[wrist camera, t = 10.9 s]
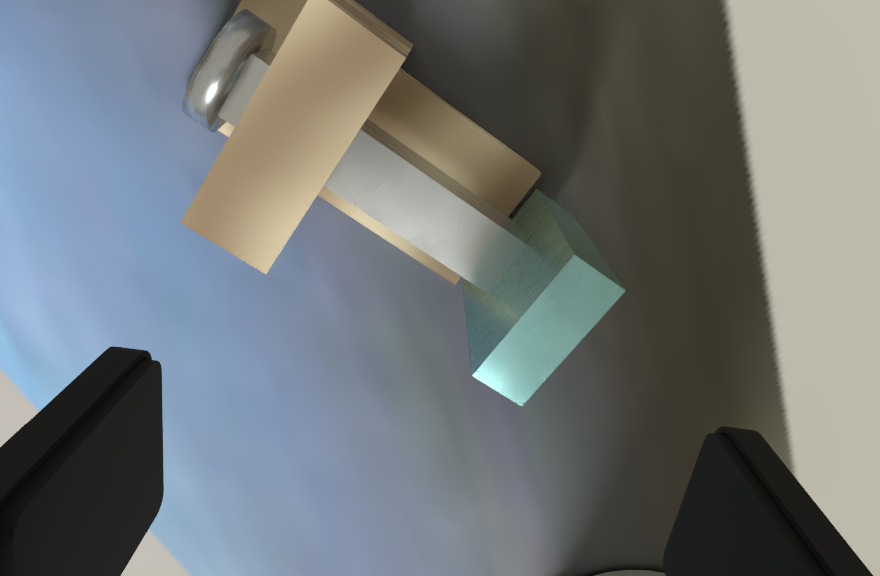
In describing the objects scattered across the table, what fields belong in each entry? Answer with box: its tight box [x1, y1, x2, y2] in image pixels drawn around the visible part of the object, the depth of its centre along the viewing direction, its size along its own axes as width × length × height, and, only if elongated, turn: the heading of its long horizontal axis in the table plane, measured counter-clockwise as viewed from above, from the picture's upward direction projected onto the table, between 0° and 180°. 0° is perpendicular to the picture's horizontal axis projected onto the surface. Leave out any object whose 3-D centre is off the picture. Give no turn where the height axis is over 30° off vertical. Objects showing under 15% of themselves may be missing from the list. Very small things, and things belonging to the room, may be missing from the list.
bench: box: [180, 0, 541, 285], centre depth 23 cm, size 13×8×7 cm, turn 55°
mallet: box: [182, 9, 626, 406], centre depth 22 cm, size 14×5×8 cm, turn 55°
